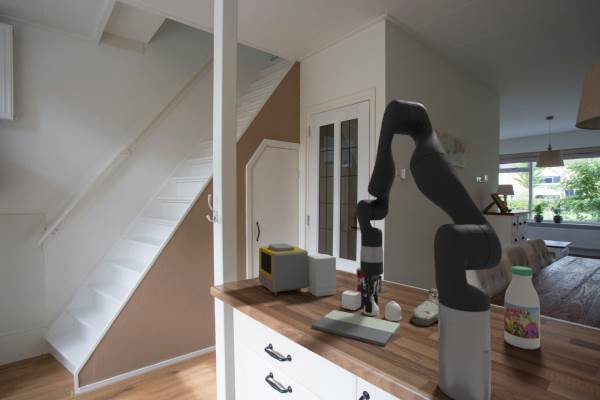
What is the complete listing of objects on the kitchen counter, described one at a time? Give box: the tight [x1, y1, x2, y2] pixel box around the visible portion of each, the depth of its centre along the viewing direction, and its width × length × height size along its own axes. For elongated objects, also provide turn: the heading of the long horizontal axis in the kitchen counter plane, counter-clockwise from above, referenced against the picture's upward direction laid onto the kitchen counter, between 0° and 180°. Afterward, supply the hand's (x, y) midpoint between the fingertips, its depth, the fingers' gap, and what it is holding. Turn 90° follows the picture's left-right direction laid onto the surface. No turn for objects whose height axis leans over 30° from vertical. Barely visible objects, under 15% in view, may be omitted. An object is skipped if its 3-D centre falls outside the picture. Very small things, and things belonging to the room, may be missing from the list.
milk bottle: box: [503, 265, 541, 350], centre depth 83 cm, size 8×8×20 cm
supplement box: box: [307, 253, 337, 298], centre depth 127 cm, size 9×9×15 cm
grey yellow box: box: [258, 243, 309, 296], centre depth 133 cm, size 20×16×18 cm
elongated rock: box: [409, 287, 438, 327], centre depth 108 cm, size 35×5×10 cm
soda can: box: [355, 267, 371, 304], centre depth 117 cm, size 7×7×12 cm
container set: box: [341, 289, 402, 322], centre depth 105 cm, size 20×5×6 cm, turn 52°
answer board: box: [311, 309, 401, 347], centre depth 93 cm, size 22×15×1 cm
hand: (371, 309), depth 105 cm, fingers closed on container set, 5 cm apart
